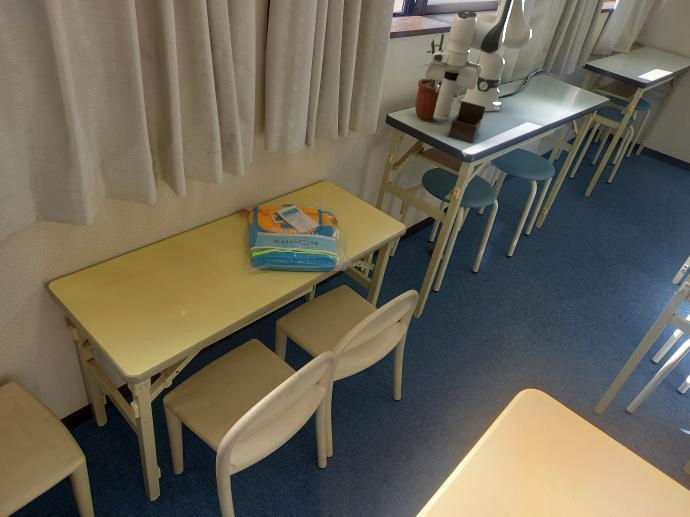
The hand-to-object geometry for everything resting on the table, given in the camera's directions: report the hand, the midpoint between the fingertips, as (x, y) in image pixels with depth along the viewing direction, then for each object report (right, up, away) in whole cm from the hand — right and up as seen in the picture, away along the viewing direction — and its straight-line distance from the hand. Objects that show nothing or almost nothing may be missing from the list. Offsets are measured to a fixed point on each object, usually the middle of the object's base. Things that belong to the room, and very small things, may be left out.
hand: (446, 94), depth 192 cm
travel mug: (-1, -8, +6) cm, 10 cm away
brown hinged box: (+9, -14, +10) cm, 19 cm away
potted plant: (-5, -2, +23) cm, 23 cm away
